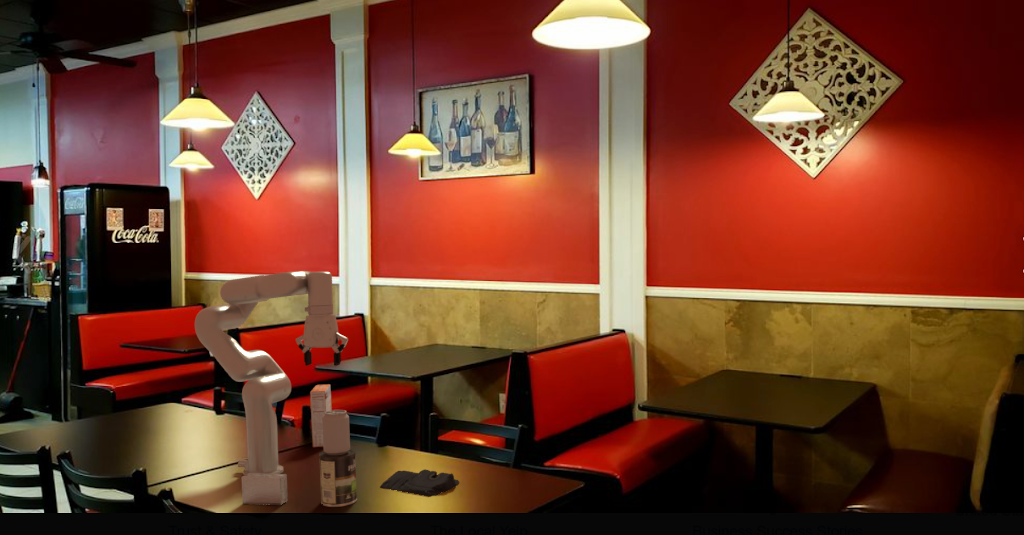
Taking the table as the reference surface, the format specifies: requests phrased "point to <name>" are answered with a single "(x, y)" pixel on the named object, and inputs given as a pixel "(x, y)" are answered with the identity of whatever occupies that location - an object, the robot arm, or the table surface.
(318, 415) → the cracker box
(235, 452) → the table surface
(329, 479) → the coffee can
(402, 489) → the dark slate chunk
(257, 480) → the pinkish brown box
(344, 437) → the can
